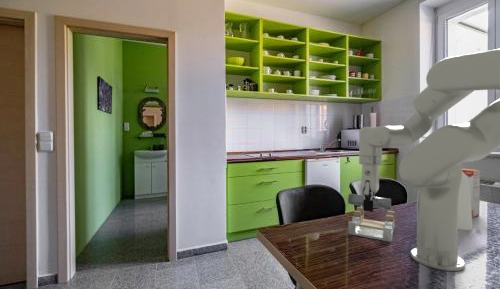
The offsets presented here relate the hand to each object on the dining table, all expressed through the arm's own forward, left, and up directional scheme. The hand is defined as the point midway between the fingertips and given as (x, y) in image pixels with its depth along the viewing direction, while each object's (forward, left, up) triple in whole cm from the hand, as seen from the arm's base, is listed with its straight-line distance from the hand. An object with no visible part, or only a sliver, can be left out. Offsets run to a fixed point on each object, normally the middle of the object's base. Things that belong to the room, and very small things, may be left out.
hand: (369, 208), depth 94 cm
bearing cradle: (+10, -1, -9) cm, 13 cm away
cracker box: (+50, -32, -10) cm, 60 cm away
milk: (+28, -26, -10) cm, 39 cm away
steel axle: (0, 0, +1) cm, 1 cm away
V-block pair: (0, -1, -9) cm, 9 cm away
